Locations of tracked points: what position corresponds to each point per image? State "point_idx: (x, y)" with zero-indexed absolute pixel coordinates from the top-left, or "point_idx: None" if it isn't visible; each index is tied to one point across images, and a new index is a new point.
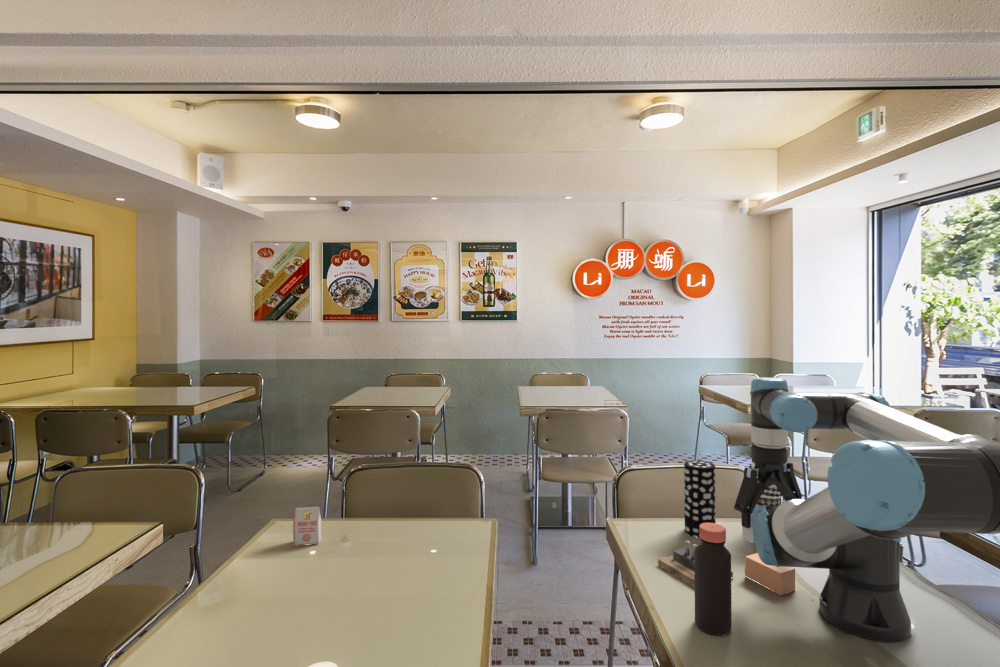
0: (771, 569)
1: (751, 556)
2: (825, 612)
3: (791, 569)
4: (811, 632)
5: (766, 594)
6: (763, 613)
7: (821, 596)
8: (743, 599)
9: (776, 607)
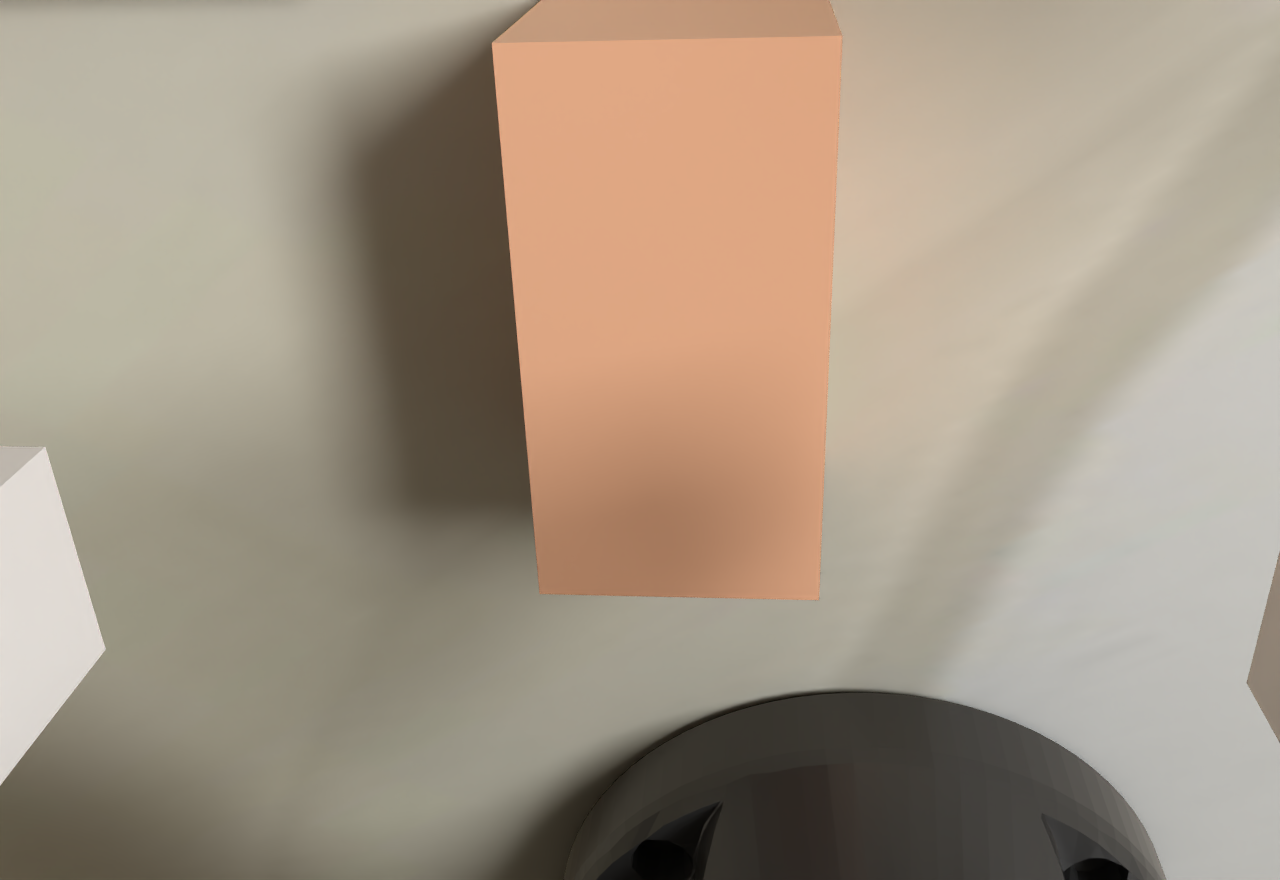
0: (529, 474)
1: (591, 91)
2: (581, 853)
3: (753, 594)
4: (333, 840)
5: (458, 377)
6: (169, 562)
7: (700, 816)
8: (154, 337)
9: (357, 556)
